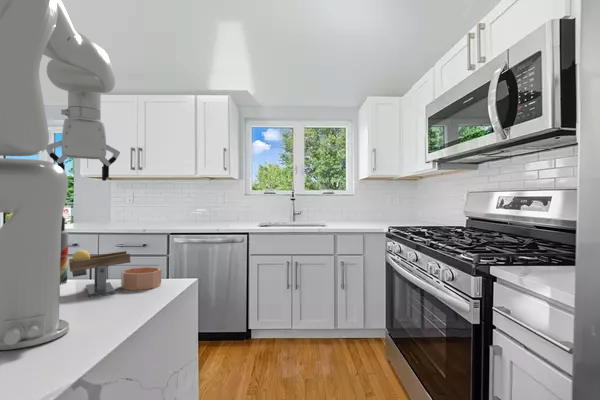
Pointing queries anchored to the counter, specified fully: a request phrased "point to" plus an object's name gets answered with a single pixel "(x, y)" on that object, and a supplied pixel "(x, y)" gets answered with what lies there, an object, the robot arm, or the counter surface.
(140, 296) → the counter surface
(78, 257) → the ball
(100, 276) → the chute stand
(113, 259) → the tilt chute
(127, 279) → the terracotta bowl
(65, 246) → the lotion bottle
